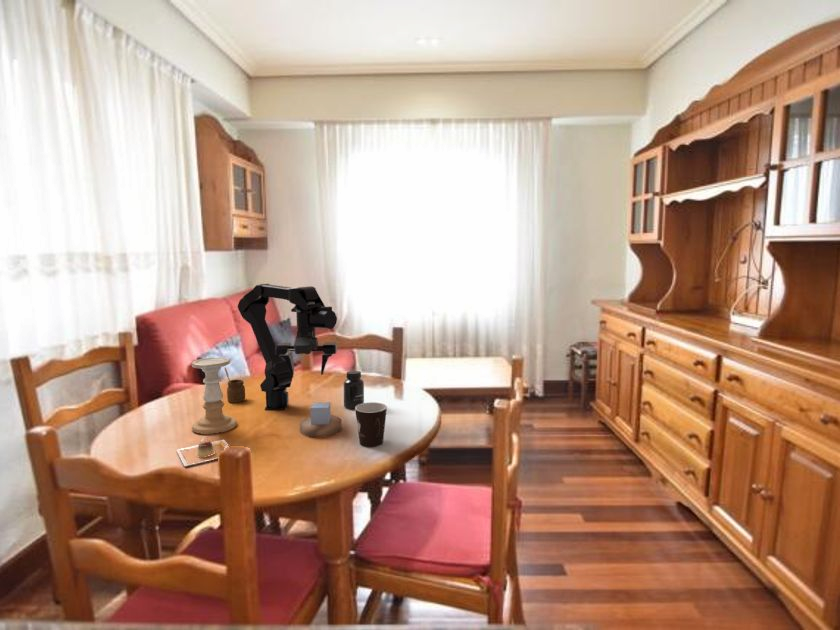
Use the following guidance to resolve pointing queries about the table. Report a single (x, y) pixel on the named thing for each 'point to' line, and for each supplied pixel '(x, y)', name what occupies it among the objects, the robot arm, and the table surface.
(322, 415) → the blue cube
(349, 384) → the supplement bottle
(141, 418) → the table surface
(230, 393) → the utensil holder
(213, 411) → the candle holder
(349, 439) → the table surface
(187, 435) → the table surface
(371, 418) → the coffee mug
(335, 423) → the brown disc
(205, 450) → the dessert
